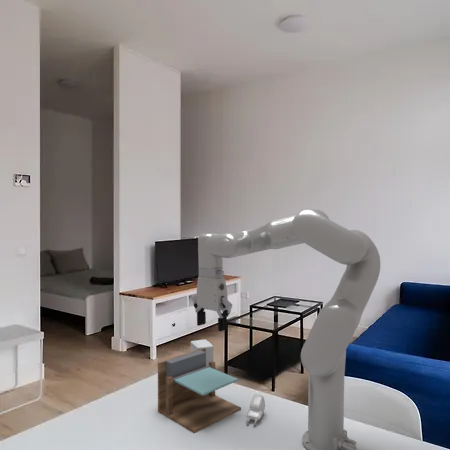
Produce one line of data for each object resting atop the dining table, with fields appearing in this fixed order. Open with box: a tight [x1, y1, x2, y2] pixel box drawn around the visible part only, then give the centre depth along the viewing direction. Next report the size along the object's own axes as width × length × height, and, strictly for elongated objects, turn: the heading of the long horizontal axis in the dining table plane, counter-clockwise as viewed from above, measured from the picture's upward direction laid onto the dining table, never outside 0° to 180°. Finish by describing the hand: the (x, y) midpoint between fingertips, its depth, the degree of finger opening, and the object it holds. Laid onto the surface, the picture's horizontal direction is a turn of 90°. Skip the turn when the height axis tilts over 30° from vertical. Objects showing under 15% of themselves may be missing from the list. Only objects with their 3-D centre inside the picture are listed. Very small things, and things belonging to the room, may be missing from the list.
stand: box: [157, 348, 242, 434], centre depth 130 cm, size 18×20×16 cm
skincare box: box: [189, 338, 214, 366], centre depth 150 cm, size 8×7×16 cm
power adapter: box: [246, 393, 266, 427], centre depth 124 cm, size 10×4×5 cm, turn 157°
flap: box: [166, 350, 239, 395], centre depth 129 cm, size 18×16×6 cm
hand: (211, 327), depth 126 cm, fingers open, 9 cm apart
